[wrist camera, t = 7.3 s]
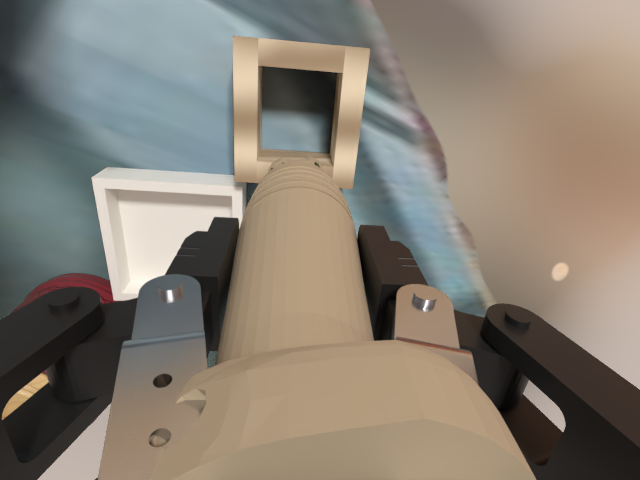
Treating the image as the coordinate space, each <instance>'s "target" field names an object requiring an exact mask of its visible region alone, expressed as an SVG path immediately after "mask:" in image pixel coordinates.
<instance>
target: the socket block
mask: <svg viewBox="0 0 640 480" xmlns="http://www.w3.org/2000/svg"><path fill="white" fill-rule="evenodd" d="M369 55H370V48H359V47H348V46H337V45H327V44H316V43H305V42H295V41H284V40H273V39H262V38H252V37H241V36H233V90H234V166H235V182H248V183H260V181H261V180H262V179H263V178H264V177H265V176H266V174H267V173H268V169H269V167H270V166H271V164H272V163H273V162H275V161H276V160H277V159H279V158H282V157H284V158H286V159H290V160H299V159H304V158H307V157H308V156H311V157H314V158H315V159H317V160H318V161H319V162H320V164H321V168H322V170H324V171H325V172H326V173H327V174H328V175H329V176H330V177H331V178H332V179H333V180H334V182H335V183H336V184H337V186H338V187H339V188H343V189H353V182H354V174H355V166H356V158H357V150H358V142H359V134H360V126H361V118H362V110H363V102H364V94H365V86H366V78H367V70H368V62H369ZM263 66H268V67H280V68H291V69H303V70H314V71H325V72H337V82H336V92H335V103H334V114H333V124H332V135H331V145H330V153H317V152H303V151H289V150H275V149H261V142H262V84H263Z"/></svg>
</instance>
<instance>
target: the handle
mask: <svg viewBox="0 0 640 480" xmlns="http://www.w3.org/2000/svg"><path fill="white" fill-rule="evenodd" d="M184 400H206V405H205V407H204V409H203V411H202V413H201V416H200V418H199V420H198V422H197V423H196V425H195V426H194V427H193V428H192V429H191V430H190V431H189V433H188V434H187V435H186V436H185V437H184V438H183V439H182V440H181V441H180V442H179V443H177V444H175V445H173V446H171V447H169V448H168V449H166V450H163V449H161V448H160V450H159V453H158V456H157V459H156V462H155V465H154V468H153V471H152V474H151V477H150V480H536V478H535V476H534V474H533V472H532V471H531V469H530V467H529V465H528V463H527V461H526V459H525V458H524V456H523V454H522V452H521V450H520V448H519V447H518V445H517V443H516V441H515V439H514V437H513V436H512V434H511V432H510V430H509V429H508V427H507V425H506V423H505V421H504V420H503V418H502V416H501V414H500V413H499V411H498V410H497V408H496V407H495V405H494V404H493V402H492V401H491V400H490V399H489V397H488V396H487V395H486V394H485V393H484V392H483V390H482V389H481V388H480V387H479V386H478V385H477V383H476V382H475V381H474V380H473V379H472V378H471V377H470V376H469V375H468V374H467V373H465V372H464V371H463V370H461V369H460V368H459V367H457V366H456V365H455V364H454V363H452V362H451V361H450V360H448V359H447V358H445V357H443V356H440V355H438V354H436V353H433V352H431V351H429V350H427V349H424V348H422V347H419V346H415V345H412V344H408V343H405V342H401V341H398V340H383V341H374V338H373V332H372V327H371V322H370V316H369V311H368V306H367V300H366V295H365V289H364V282H363V276H362V269H361V263H360V256H359V249H358V243H357V236H356V231H355V227H354V223H353V220H352V216H351V213H350V210H349V208H348V205H347V202H346V200H345V198H344V196H343V195H342V193H341V191H340V189H339V187H338V186H337V184H336V183H335V182H334V180H333V179H332V178H331V177H330V176H329V175H328V174H327V173H326V172H325V171H324V170H322V168H321V164H320V162H319V161H318V160H317V159H315V158H314V157H311V156H308V157H307V158H304V159H299V160H290V159H286V158H284V157H282V158H279V159H277V160H276V161H275V162H273V163H272V164H271V166H270V167H269V169H268V173H267V174H266V176H265V177H264V178H263V179H262V180H261V181H260V183H259V184H258V186H257V188H256V189H255V191H254V193H253V195H252V197H251V199H250V201H249V203H248V205H247V208H246V210H245V213H244V216H243V219H242V222H241V225H240V229H239V234H238V239H237V245H236V250H235V256H234V262H233V268H232V274H231V280H230V287H229V293H228V299H227V304H226V310H225V315H224V320H223V326H222V331H221V337H220V342H219V348H218V353H217V358H216V364H215V366H213V367H211V368H209V369H206V370H204V371H201V372H199V373H197V374H196V375H194V376H193V377H192V378H190V379H189V380H188V382H187V383H186V385H185V387H184V388H183V390H182V392H181V393H180V395H179V396H178V398H177V400H176V403H179V402H181V401H184ZM176 403H175V404H176ZM167 443H168V442H167V441H166V440H164V439H163V438H161V437H159V436H156V437H155V438H154V439H153V441H152V442H151V446H153V447H161V446H164V445H165V444H167Z"/></svg>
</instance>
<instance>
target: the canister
mask: <svg viewBox="0 0 640 480" xmlns="http://www.w3.org/2000/svg"><path fill="white" fill-rule="evenodd" d="M67 287H87V288H91V289H94V290H96V291H97V292H98V293H99V295H100V297H101V302H102V304H105V303H112V302H119V301H115V300H114V299H113V294H112V288H111V282H110V281H108V280H105V279H103V278H100V277H97V276H93V275H89V274H81V273H71V274H64V275H60V276H56V277H54V278H52V279H50V280H48V281H46V282H44V283H42V284H40V285H39V286H37V287H36V288H35V289H34V290H33V291H32V292H31V293H29V294H28V295H27V297H26V298H25V299H24V301H23V303H21V304H20V305H19V306H18V307H17V308H16V309H15V310H14V311H13V312H15V311H17V310H18V309H20V308H22V307H24V306H25V305H27V304H29V303H30V302H32V301H34V300H35V299H37V298H39V297H40V296H42V295H44V294H46V293H49V292H51V291H54V290H58V289H62V288H67ZM13 312H12V313H13ZM12 313H11V314H12ZM48 382H49V381H48V378H47V375H46V372H45V371H44V372H42V373H41V374H40V375H38V376H37V377H36V378H35V379H33V380H32V381H31V382H30V383H28V384H27V385H26V386H25V387H23V388H22V389H21V390H19V391H18V392H17V393H16V394H15V395H14V396H13V397H12V398H11V399H10V400H9V401H8V403H7V404H6V406H5V408H4V411H3V414H2V420H3V419H4V418H6V417H7V416H8V415H9V414H10V413H12V412H13V411H14V410H15V409H17V408H18V407H19V406H20V405H21V404H23V403H24V402H25V401H26V400H27V399H29V398H30V397H31V396H32V395H33V394H35V393H36V392H37V391H38V390H40V389H41V388H42V387H43V386H44V385H46V384H47V383H48ZM95 420H96V419H95ZM95 420H94V421H95ZM94 421H93V422H94ZM93 422H92V423H93Z"/></svg>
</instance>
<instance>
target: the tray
mask: <svg viewBox="0 0 640 480" xmlns="http://www.w3.org/2000/svg"><path fill="white" fill-rule="evenodd" d="M92 182H93V188H94V194H95V199H96V205H97V210H98V216H99V221H100V227H101V232H102V238H103V244H104V249H105V255H106V260H107V266H108V271H109V277H110V282H111V288H112V294H113V299H114V300H115V301H125V300H130V299H134V298H138V294H139V290H140V288H141V287H142V286H143V285H144V284H145V283H146V282H148V281H150V280H151V279H154V278H156V277H159V276H163V275H165V274H166V272H167V270H168V268H169V266H170V265H171V263H172V261H173V259H174V257H175V256H176V255H177V252H178V250H179V249H180V248H181V245H182V243H183V241H184V240H185V238H186V237H188V236H189V235H191V234H192V233H194V232H195V231H208V229H209V227H210V225H211V223H212V221H213V218H214V217H229V218H238V219H239V229H240V225H241V222H242V219H243V216H244V213H245V210H246V182H235V175H223V174H207V173H192V172H176V171H161V170H145V169H130V168H114V167H107V168H105V169H104V170H102V171H101V172H99V173H98V174H96V175H95V176H93V177H92Z"/></svg>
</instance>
